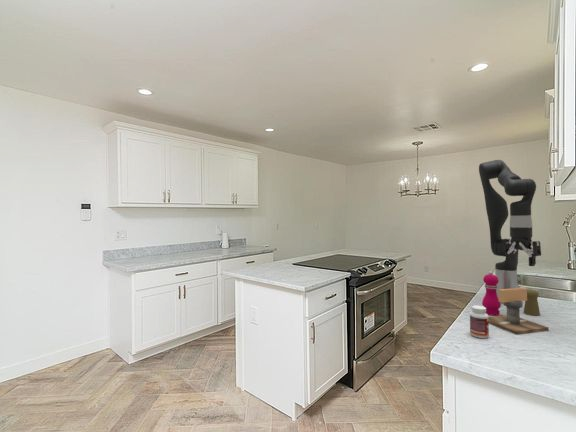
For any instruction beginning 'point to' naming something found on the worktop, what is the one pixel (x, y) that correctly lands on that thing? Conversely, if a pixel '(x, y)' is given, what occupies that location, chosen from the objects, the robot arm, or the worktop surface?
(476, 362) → the worktop surface
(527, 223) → the robot arm
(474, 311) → the pill bottle
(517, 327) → the square stand base
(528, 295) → the cork
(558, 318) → the worktop surface
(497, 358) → the worktop surface
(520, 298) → the tan long piece
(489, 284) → the pepper mill
